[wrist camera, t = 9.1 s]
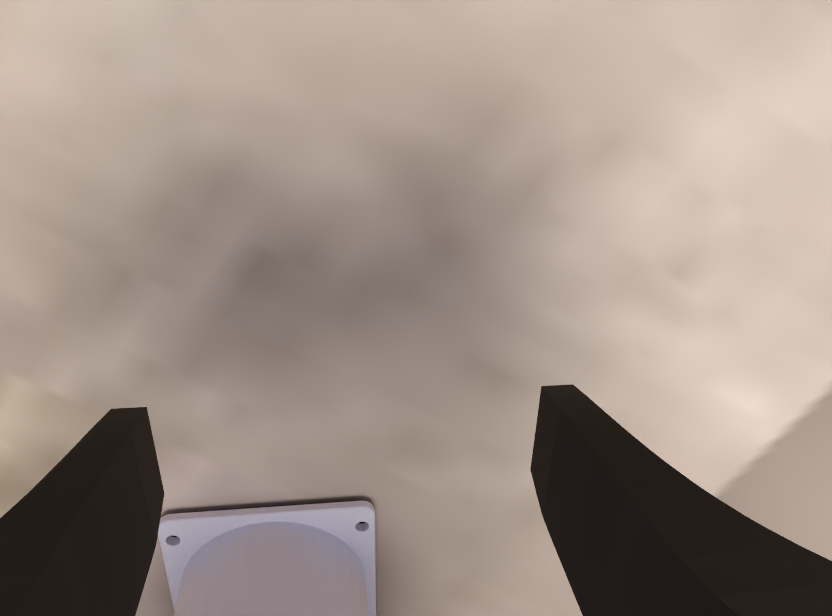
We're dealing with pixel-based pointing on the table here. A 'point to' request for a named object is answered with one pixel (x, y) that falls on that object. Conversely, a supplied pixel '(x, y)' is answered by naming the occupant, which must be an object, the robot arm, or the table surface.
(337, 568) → the robot arm
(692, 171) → the table surface
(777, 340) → the table surface
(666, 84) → the table surface
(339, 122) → the table surface
